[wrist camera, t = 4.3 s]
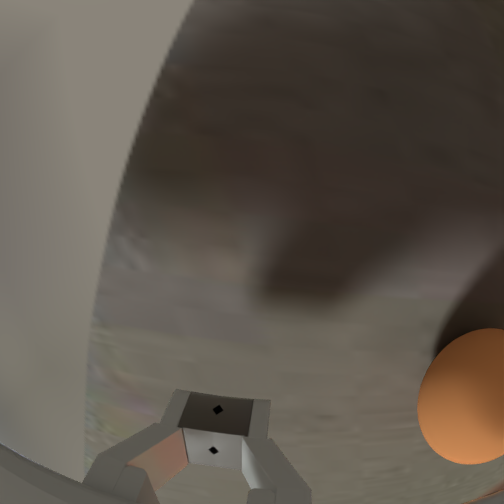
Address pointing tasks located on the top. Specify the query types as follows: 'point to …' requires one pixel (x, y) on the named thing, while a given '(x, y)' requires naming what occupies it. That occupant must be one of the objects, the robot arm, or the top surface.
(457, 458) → the ball
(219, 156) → the top surface
